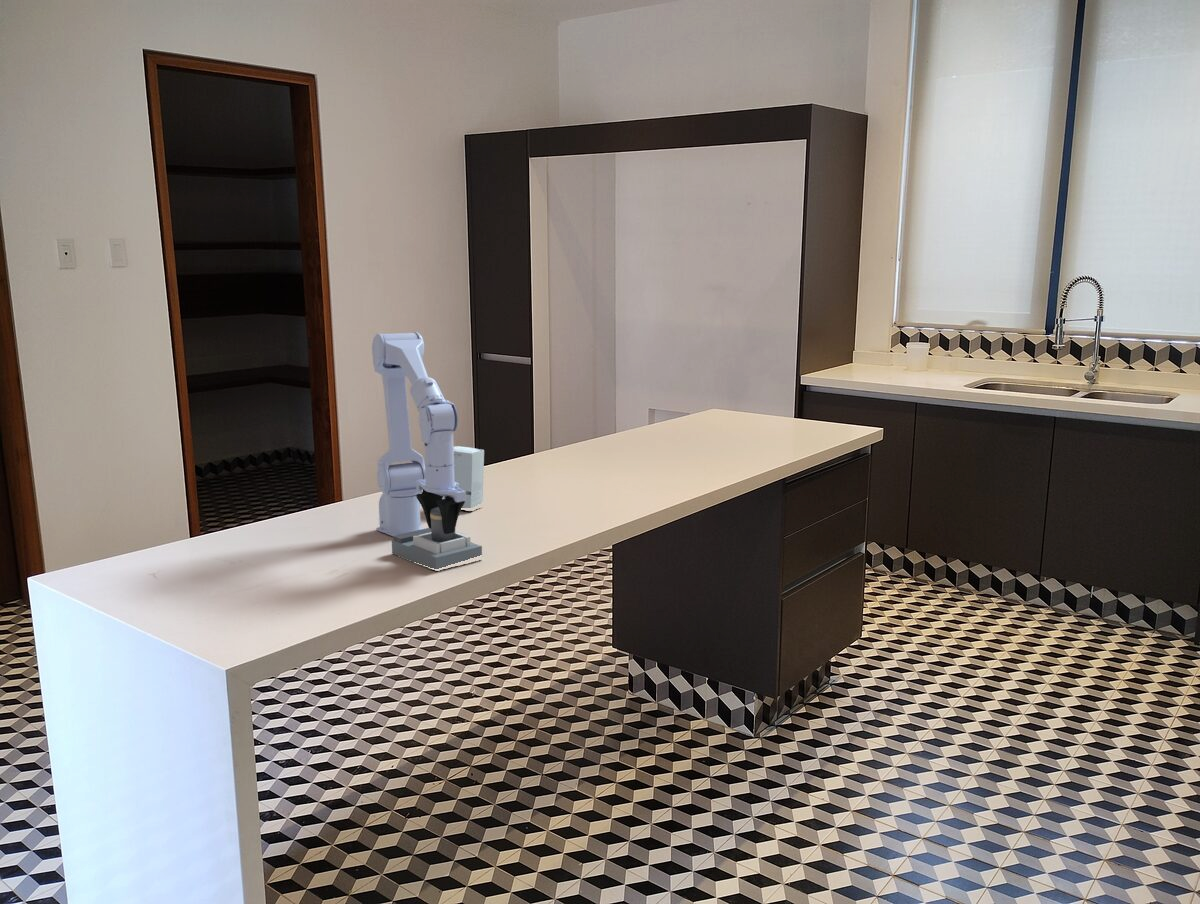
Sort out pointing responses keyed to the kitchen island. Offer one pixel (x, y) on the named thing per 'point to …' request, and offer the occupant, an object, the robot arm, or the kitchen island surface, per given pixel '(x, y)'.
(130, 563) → the kitchen island surface
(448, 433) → the robot arm
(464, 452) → the skincare box
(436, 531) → the lens
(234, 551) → the kitchen island surface
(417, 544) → the camera body
